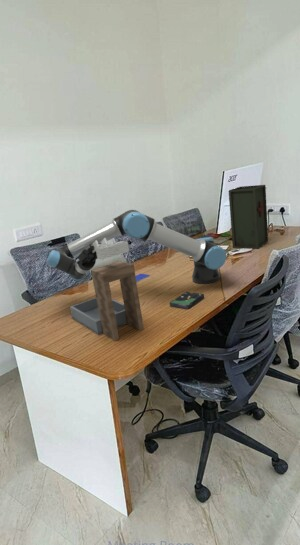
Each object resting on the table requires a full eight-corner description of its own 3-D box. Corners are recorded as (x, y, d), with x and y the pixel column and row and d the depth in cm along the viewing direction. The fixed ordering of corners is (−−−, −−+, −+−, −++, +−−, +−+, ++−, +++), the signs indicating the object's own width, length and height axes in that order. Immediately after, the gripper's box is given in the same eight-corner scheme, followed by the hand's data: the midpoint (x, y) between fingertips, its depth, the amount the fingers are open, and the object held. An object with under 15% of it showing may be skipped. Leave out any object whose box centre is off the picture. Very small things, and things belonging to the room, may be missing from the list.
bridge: (103, 333, 156) (90, 270, 148) (131, 322, 163) (120, 261, 155) (114, 340, 148) (102, 274, 140) (143, 328, 155) (133, 264, 147)
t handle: (80, 253, 154) (79, 244, 153) (106, 246, 160) (104, 237, 159) (102, 259, 138) (100, 249, 137) (129, 251, 145) (127, 241, 144)
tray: (72, 318, 177) (69, 306, 175) (105, 306, 186) (103, 294, 184) (98, 334, 155) (95, 321, 153) (134, 320, 164) (132, 307, 163)
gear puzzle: (242, 236, 293) (242, 231, 292) (232, 241, 282) (232, 236, 280) (209, 235, 313) (208, 230, 312) (198, 240, 302) (197, 235, 301)
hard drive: (135, 281, 215) (149, 274, 224) (125, 279, 220) (139, 273, 229) (136, 283, 215) (150, 277, 224) (126, 282, 221) (140, 275, 229)
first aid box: (258, 248, 249) (254, 188, 238) (232, 248, 260) (228, 190, 249) (268, 242, 263) (265, 184, 251) (243, 241, 274) (239, 186, 263)
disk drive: (186, 296, 185) (169, 307, 174) (185, 291, 184) (169, 302, 173) (204, 299, 178) (188, 310, 167) (204, 293, 178) (188, 304, 167)
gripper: (104, 265, 172) (122, 245, 152) (72, 275, 164) (86, 255, 144) (98, 251, 173) (115, 229, 153) (65, 260, 165) (79, 238, 145)
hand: (101, 242), depth 149 cm, fingers closed on t handle, 3 cm apart
